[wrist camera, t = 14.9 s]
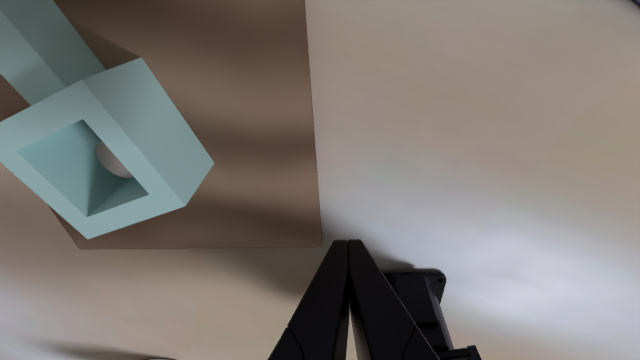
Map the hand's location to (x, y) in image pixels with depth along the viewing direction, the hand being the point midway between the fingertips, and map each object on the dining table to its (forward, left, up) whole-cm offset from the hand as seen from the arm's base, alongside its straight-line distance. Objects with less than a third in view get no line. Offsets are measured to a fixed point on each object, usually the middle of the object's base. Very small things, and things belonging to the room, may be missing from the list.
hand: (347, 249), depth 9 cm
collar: (+3, +14, -10) cm, 17 cm away
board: (0, +12, -11) cm, 16 cm away
